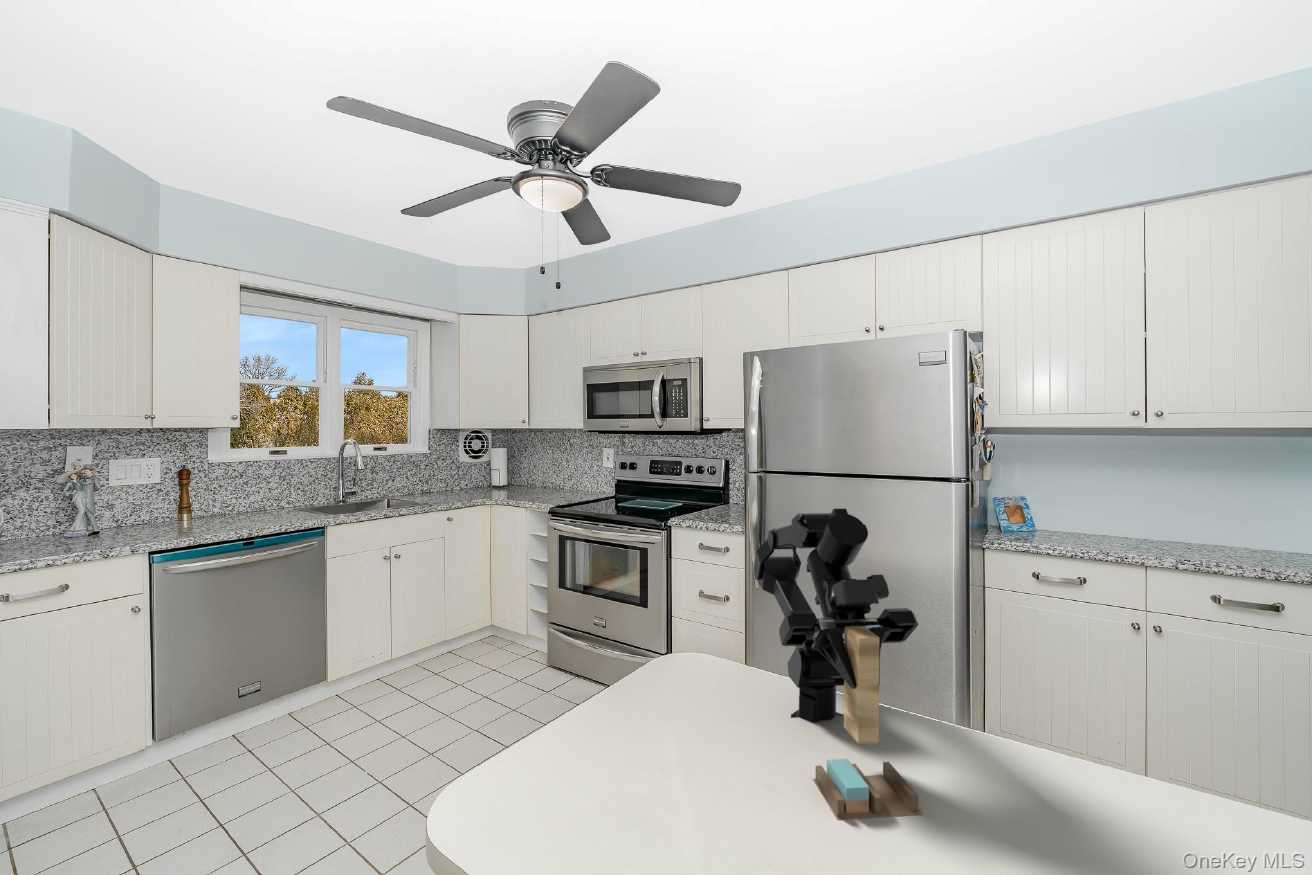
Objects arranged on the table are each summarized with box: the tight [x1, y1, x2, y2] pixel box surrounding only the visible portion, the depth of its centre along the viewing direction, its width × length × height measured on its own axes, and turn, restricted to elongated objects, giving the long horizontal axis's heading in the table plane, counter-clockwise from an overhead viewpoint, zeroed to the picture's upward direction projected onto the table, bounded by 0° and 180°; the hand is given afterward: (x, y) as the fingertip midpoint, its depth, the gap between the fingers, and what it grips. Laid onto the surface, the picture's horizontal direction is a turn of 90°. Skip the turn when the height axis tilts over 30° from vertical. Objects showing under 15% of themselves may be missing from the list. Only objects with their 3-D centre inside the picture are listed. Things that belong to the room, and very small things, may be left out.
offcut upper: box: [826, 758, 869, 801], centre depth 71 cm, size 6×3×2 cm, turn 5°
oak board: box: [843, 626, 880, 745], centre depth 78 cm, size 4×3×14 cm, turn 5°
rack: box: [812, 761, 924, 821], centre depth 71 cm, size 8×11×3 cm
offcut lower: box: [826, 771, 869, 813], centre depth 71 cm, size 6×3×2 cm, turn 5°
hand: (865, 687), depth 76 cm, fingers closed on oak board, 3 cm apart
